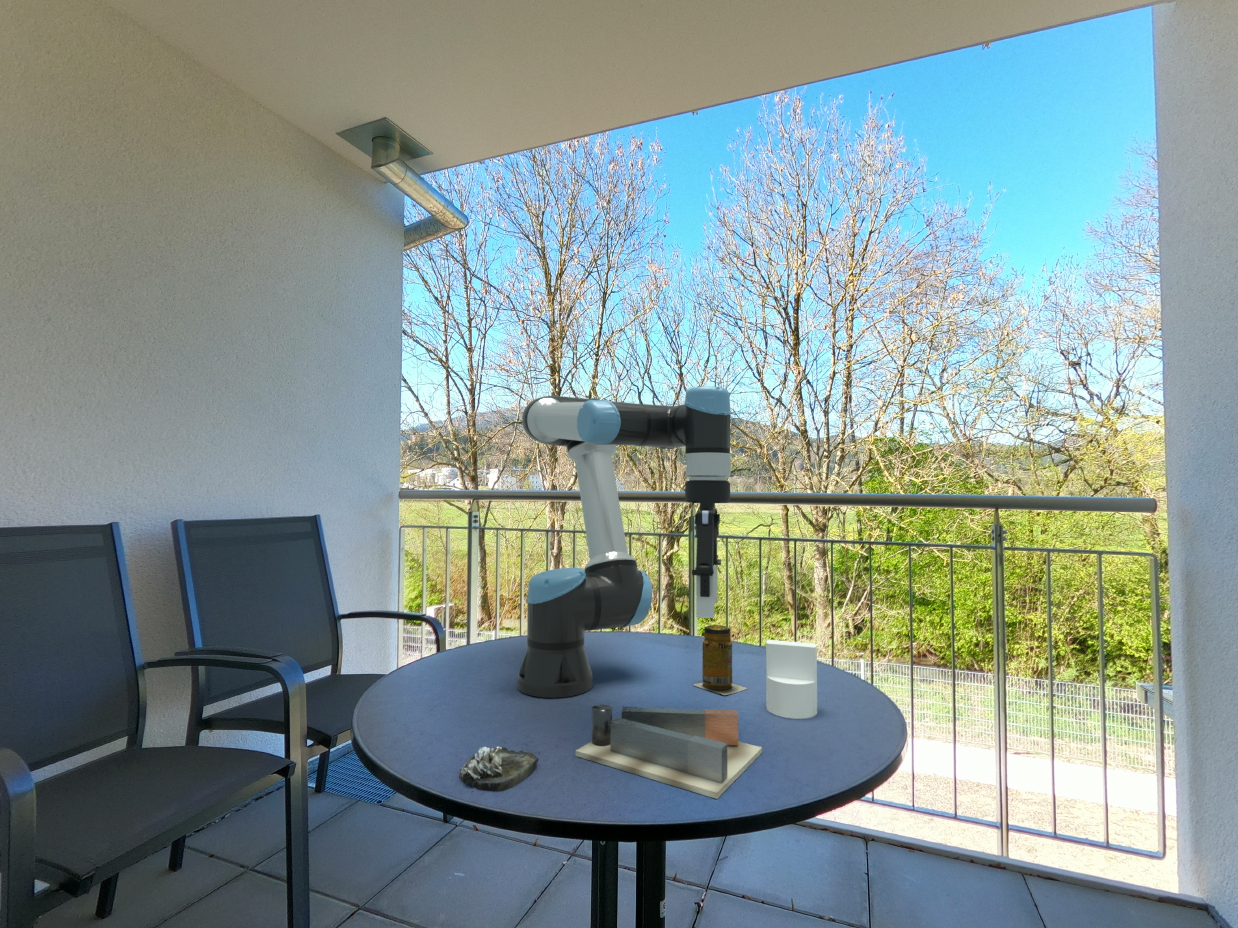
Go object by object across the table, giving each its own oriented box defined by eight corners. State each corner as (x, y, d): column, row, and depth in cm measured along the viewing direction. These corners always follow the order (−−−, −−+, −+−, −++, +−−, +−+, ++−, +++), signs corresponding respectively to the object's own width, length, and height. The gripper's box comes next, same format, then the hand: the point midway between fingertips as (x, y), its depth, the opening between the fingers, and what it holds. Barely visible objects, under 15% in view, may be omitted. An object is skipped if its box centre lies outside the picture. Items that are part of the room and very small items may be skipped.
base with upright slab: (817, 704, 114) (817, 639, 115) (816, 721, 106) (816, 651, 106) (768, 698, 117) (768, 635, 118) (763, 714, 109) (763, 647, 109)
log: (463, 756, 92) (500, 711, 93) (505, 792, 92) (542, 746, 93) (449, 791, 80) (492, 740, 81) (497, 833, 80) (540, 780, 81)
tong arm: (621, 740, 95) (621, 710, 95) (622, 735, 97) (622, 705, 97) (738, 745, 93) (738, 714, 93) (736, 739, 95) (736, 710, 95)
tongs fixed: (585, 744, 94) (585, 710, 94) (599, 735, 97) (599, 702, 97) (721, 783, 81) (721, 743, 82) (732, 772, 85) (732, 734, 85)
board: (575, 755, 91) (575, 750, 91) (634, 720, 106) (634, 716, 106) (717, 798, 79) (717, 792, 79) (762, 752, 93) (761, 747, 93)
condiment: (716, 679, 129) (716, 622, 130) (748, 689, 123) (747, 629, 123) (692, 685, 125) (692, 626, 125) (724, 696, 118) (724, 634, 119)
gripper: (691, 480, 115) (691, 596, 114) (677, 477, 91) (677, 623, 90) (731, 480, 113) (731, 597, 112) (728, 478, 90) (728, 626, 89)
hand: (707, 609), depth 101 cm, fingers open, 12 cm apart
